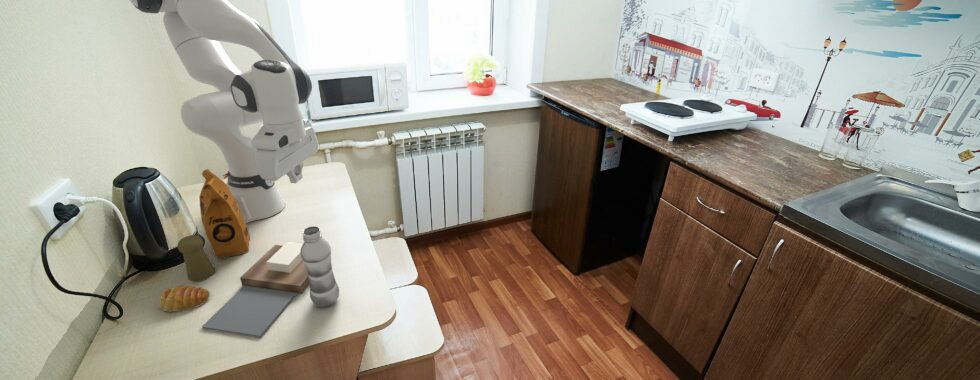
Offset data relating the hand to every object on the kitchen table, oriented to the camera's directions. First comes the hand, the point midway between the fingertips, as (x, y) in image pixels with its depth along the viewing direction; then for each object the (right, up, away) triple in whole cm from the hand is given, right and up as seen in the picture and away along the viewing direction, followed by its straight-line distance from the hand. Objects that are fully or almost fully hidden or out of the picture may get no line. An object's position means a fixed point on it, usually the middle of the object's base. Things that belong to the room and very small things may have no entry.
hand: (296, 180), depth 108 cm
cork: (-24, -24, -1) cm, 34 cm away
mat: (-5, -30, -12) cm, 33 cm away
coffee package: (-23, -19, +10) cm, 31 cm away
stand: (-2, -24, 0) cm, 24 cm away
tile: (-2, -21, 0) cm, 21 cm away
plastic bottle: (+11, -29, -9) cm, 32 cm away
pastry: (-22, -29, -10) cm, 38 cm away
